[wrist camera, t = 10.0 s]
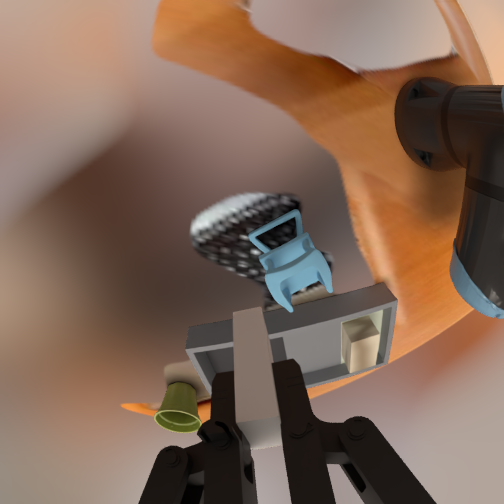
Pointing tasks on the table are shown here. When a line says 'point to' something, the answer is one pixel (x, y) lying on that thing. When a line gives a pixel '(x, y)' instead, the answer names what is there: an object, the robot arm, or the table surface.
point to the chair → (291, 262)
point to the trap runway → (301, 336)
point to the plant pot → (179, 409)
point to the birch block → (359, 343)
